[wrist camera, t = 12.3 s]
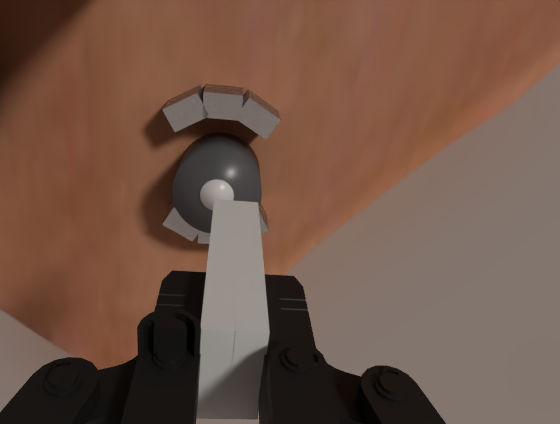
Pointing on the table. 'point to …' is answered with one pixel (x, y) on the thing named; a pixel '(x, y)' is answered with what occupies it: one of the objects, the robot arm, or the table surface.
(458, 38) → the table surface
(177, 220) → the grey segmented ring
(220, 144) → the cap
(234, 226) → the robot arm
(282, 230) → the table surface
